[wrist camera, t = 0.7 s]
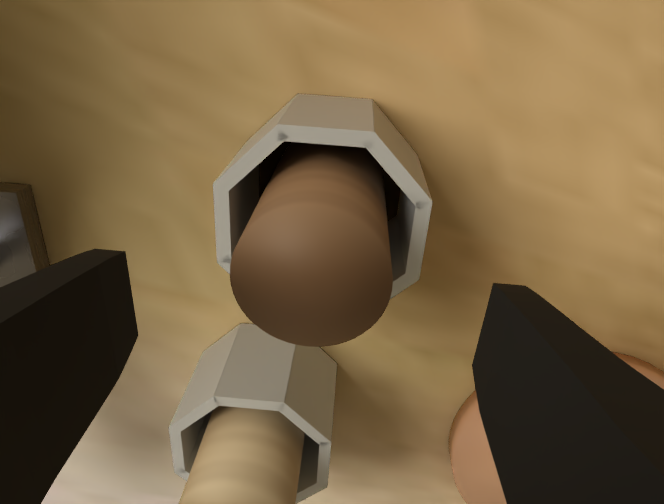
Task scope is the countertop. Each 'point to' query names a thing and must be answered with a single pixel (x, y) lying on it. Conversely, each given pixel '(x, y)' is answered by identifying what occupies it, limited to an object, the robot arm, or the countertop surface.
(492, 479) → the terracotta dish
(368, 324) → the walnut peg
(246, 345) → the grey sleeve
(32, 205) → the balance
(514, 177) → the countertop surface
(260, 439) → the maple peg
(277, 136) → the grey sleeve
